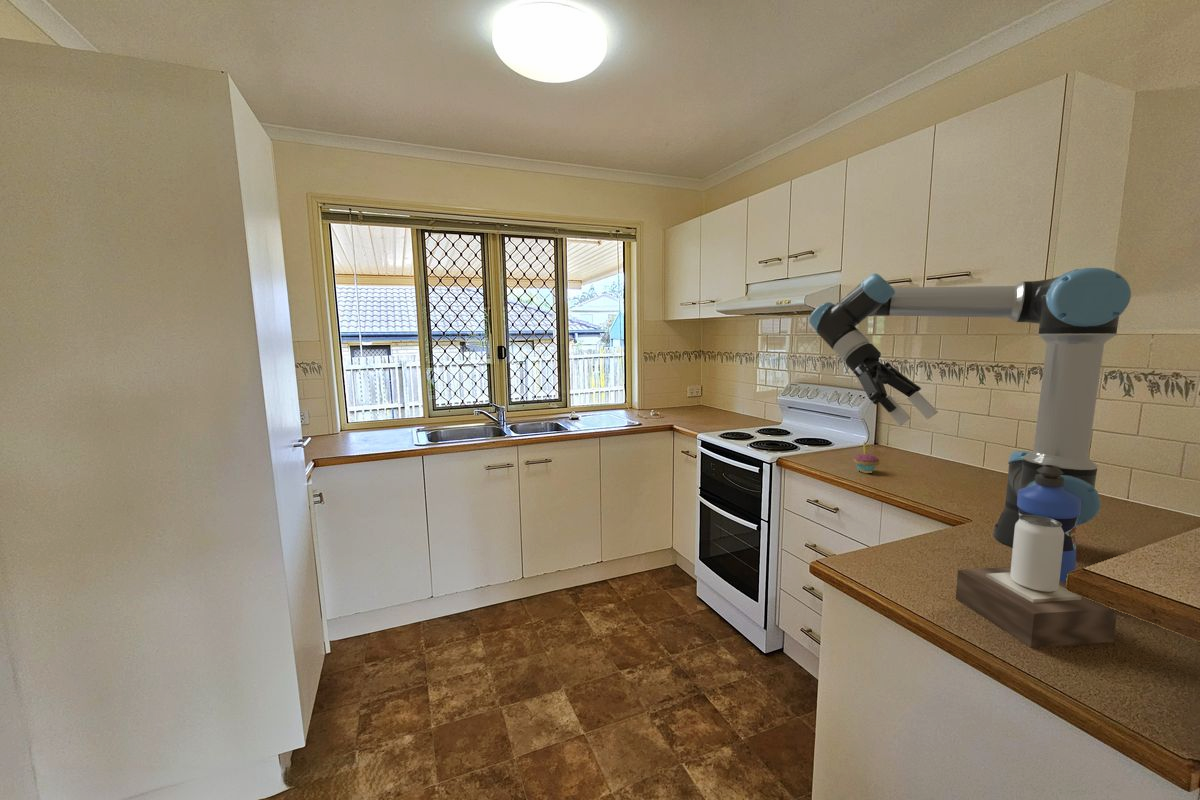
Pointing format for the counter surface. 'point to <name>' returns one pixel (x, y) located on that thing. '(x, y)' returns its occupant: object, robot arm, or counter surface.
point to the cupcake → (866, 461)
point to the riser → (1035, 610)
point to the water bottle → (1053, 509)
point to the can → (1037, 553)
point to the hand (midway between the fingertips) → (919, 418)
